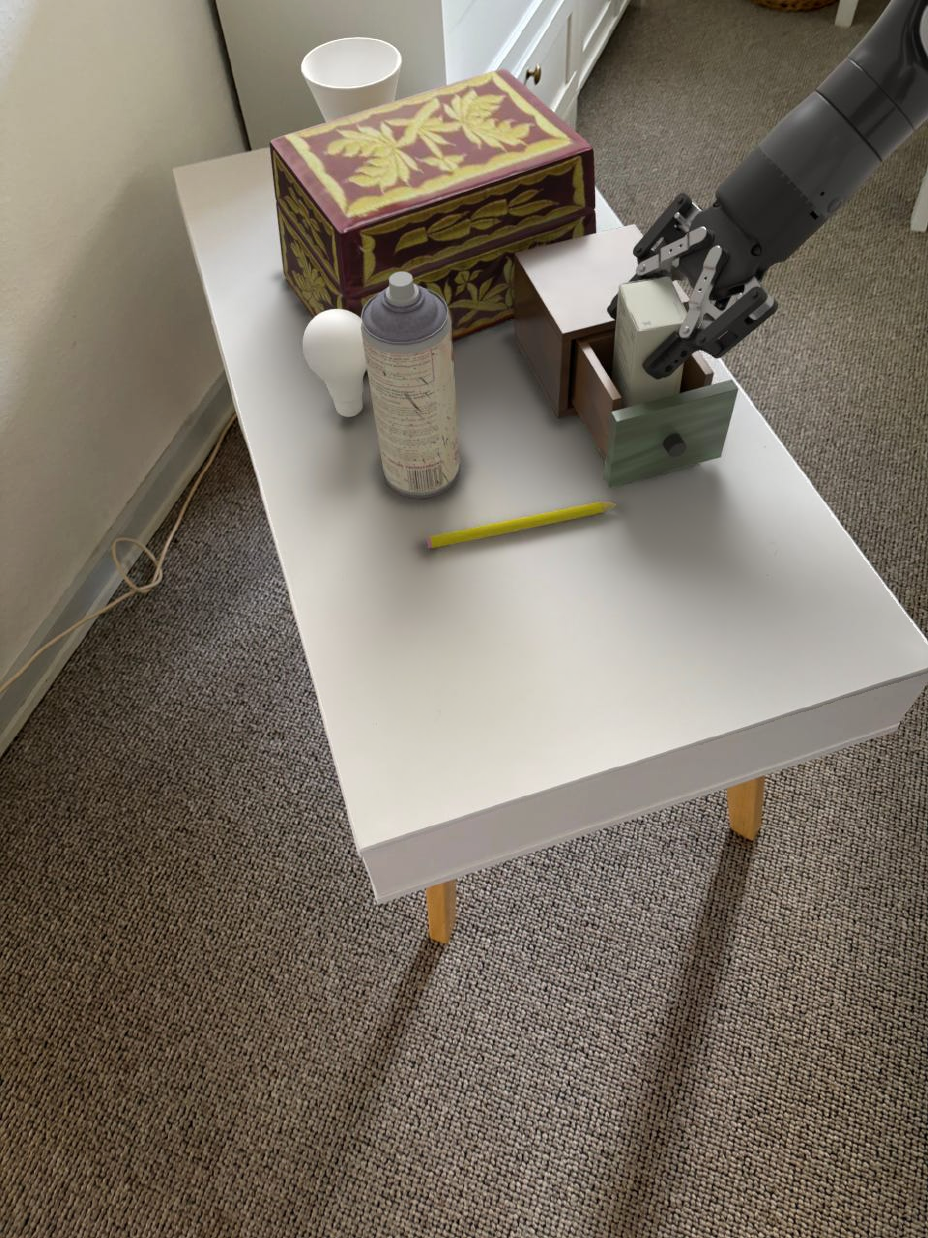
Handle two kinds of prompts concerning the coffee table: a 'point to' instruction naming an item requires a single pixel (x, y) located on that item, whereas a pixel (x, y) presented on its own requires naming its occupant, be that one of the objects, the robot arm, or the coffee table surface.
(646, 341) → the cosmetic box
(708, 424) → the drawer
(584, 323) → the cabinet
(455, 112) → the decorative box
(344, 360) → the lightbulb
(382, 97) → the cup
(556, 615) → the coffee table surface
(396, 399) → the aerosol can
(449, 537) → the pencil
